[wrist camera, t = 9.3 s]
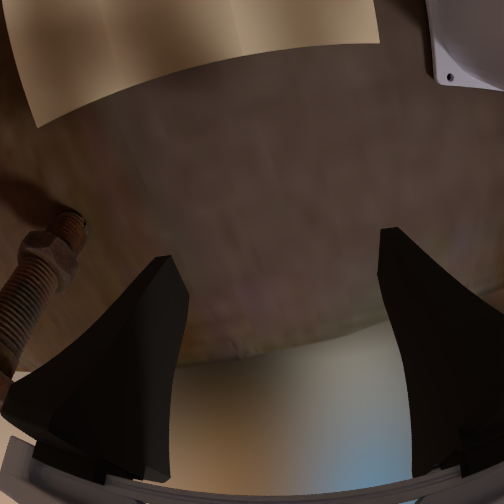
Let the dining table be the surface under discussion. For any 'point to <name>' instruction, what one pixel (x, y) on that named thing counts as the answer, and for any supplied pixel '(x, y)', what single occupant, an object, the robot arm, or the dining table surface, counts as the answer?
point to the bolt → (36, 286)
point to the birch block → (159, 40)
